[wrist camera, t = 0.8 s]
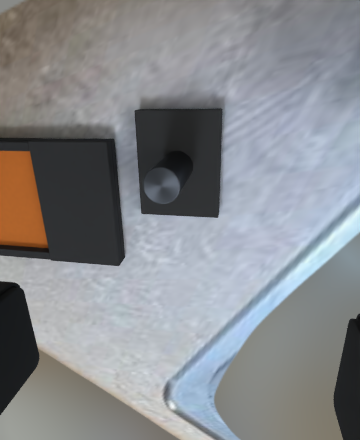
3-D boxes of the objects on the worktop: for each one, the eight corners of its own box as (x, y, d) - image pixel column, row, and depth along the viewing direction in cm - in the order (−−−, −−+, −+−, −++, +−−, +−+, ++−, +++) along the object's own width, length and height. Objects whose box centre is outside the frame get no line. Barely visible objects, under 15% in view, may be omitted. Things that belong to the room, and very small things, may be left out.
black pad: (139, 109, 27) (105, 116, 21) (222, 108, 26) (214, 116, 19) (145, 208, 31) (117, 242, 24) (219, 212, 29) (211, 249, 23)
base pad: (-41, 137, 31) (-56, 140, 30) (114, 139, 29) (106, 142, 27) (-11, 246, 36) (-23, 254, 34) (125, 257, 33) (119, 266, 32)
